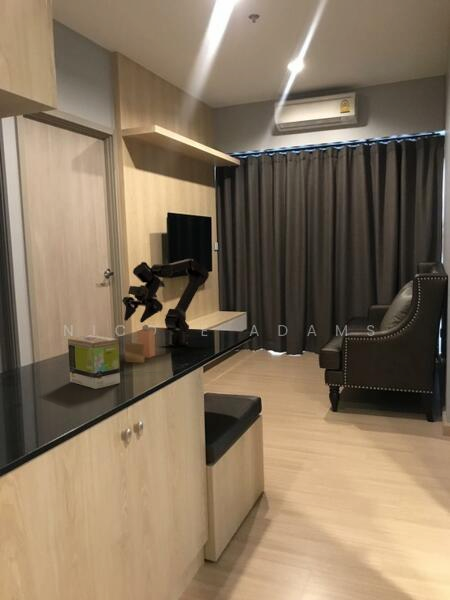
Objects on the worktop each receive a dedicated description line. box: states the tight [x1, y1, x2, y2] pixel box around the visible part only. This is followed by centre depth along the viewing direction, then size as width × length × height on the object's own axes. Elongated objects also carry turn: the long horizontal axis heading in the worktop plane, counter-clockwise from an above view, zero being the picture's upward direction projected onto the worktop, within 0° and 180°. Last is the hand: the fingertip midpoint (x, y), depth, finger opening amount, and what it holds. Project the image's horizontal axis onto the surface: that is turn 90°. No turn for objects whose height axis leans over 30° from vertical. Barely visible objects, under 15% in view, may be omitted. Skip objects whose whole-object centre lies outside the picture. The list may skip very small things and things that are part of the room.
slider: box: [136, 324, 156, 359], centre depth 199 cm, size 4×5×12 cm
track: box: [124, 342, 146, 364], centre depth 198 cm, size 17×7×8 cm, turn 161°
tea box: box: [67, 334, 121, 390], centre depth 168 cm, size 15×10×15 cm
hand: (132, 321), depth 207 cm, fingers open, 9 cm apart
